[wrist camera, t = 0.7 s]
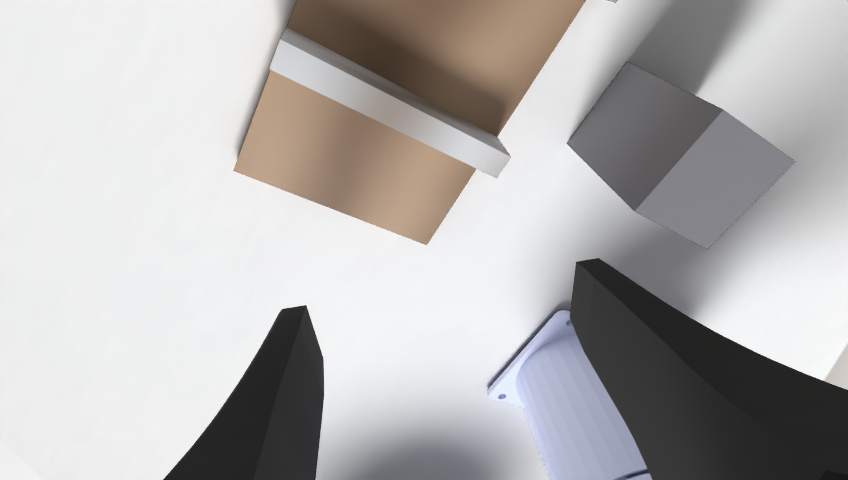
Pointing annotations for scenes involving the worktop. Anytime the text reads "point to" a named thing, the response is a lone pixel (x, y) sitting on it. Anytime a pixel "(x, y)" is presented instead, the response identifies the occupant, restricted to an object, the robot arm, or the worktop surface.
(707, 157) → the grey rectangular block
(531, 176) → the worktop surface
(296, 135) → the end holder
